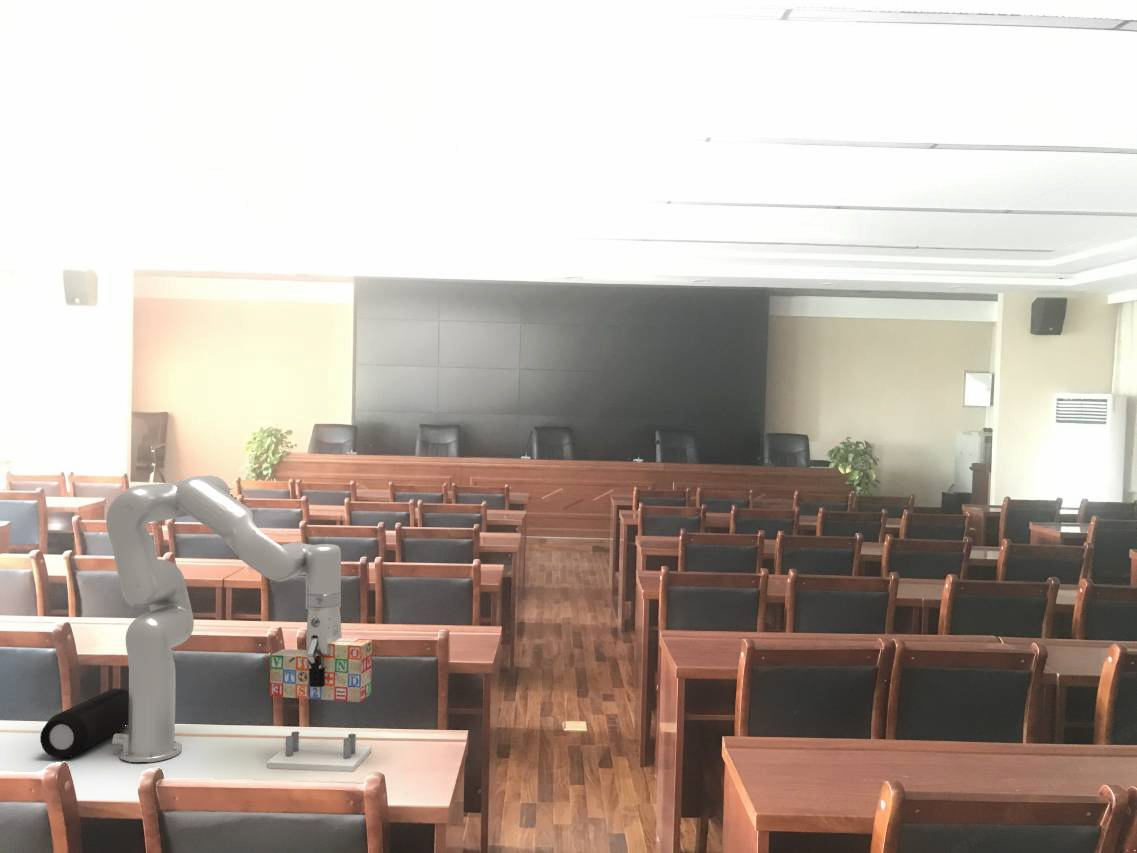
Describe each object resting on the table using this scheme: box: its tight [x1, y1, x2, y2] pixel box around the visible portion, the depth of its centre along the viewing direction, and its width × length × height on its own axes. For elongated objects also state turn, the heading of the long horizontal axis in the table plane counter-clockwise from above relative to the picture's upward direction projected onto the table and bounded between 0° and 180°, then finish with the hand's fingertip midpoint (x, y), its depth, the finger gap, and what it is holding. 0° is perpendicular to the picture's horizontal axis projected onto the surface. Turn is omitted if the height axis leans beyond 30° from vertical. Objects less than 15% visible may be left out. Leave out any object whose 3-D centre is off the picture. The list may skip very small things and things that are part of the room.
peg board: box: [266, 731, 372, 773], centre depth 203 cm, size 19×13×5 cm
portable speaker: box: [39, 687, 129, 759], centre depth 213 cm, size 26×10×10 cm, turn 176°
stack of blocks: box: [269, 637, 373, 703], centre depth 204 cm, size 21×6×12 cm, turn 80°
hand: (322, 681), depth 203 cm, fingers closed on stack of blocks, 6 cm apart
